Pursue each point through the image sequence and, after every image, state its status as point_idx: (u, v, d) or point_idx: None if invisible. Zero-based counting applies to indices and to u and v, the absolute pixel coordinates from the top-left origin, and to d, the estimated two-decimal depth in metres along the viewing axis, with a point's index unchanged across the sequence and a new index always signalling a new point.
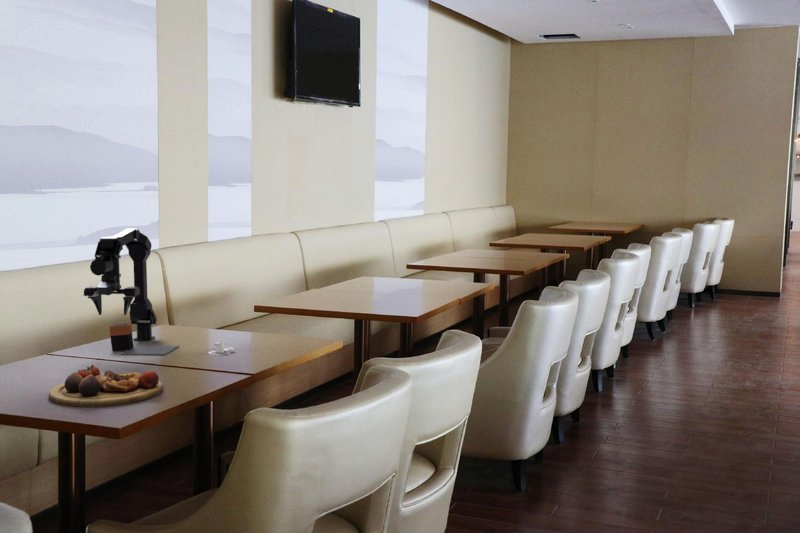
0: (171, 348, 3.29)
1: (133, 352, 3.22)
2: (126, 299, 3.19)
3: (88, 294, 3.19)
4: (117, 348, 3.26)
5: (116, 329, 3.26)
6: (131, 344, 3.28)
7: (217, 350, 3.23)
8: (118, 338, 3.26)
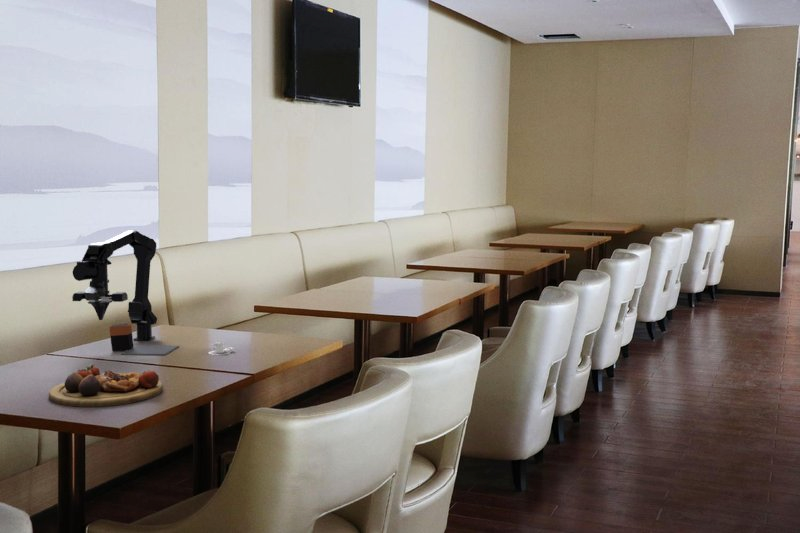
0: (171, 348, 3.29)
1: (133, 352, 3.22)
2: (102, 304, 3.25)
3: (77, 299, 3.25)
4: (117, 348, 3.26)
5: (116, 329, 3.26)
6: (131, 344, 3.28)
7: (217, 350, 3.23)
8: (118, 338, 3.26)
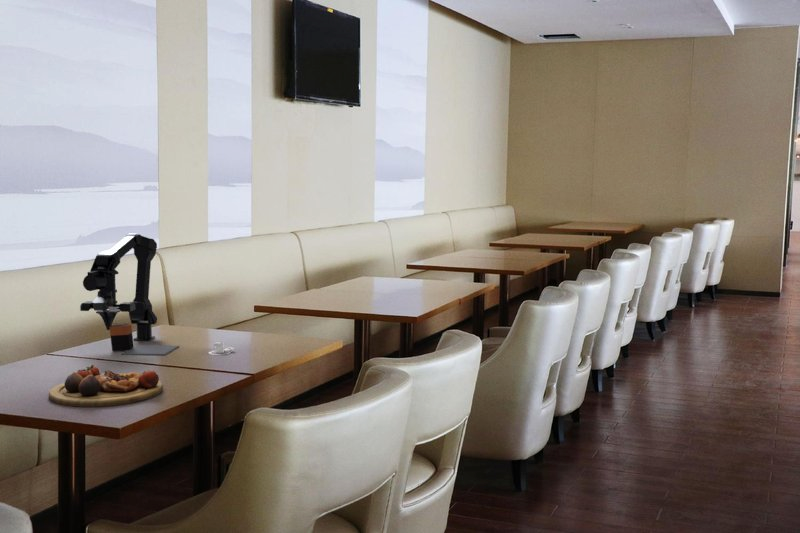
0: (171, 348, 3.29)
1: (133, 352, 3.22)
2: (110, 314, 3.25)
3: (84, 309, 3.25)
4: (117, 348, 3.26)
5: (116, 329, 3.26)
6: (131, 344, 3.28)
7: (217, 350, 3.23)
8: (119, 338, 3.26)
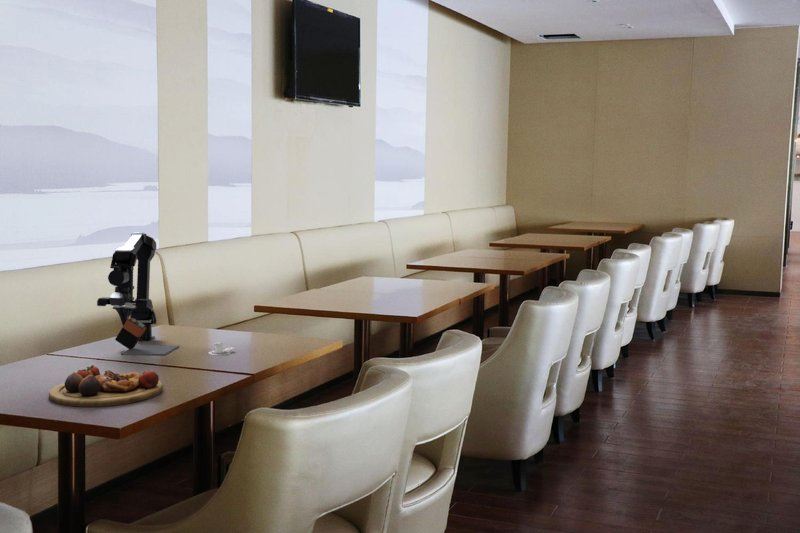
0: (171, 348, 3.29)
1: (133, 352, 3.22)
2: (126, 310, 3.24)
3: (101, 304, 3.24)
4: (120, 341, 3.26)
5: (131, 326, 3.25)
6: (134, 345, 3.28)
7: (217, 350, 3.23)
8: (127, 335, 3.25)
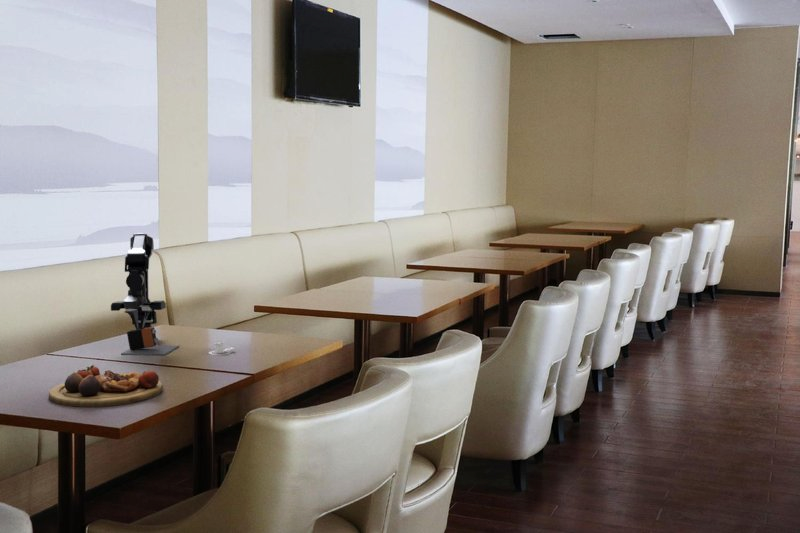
0: (171, 348, 3.29)
1: (133, 352, 3.22)
2: (143, 313, 3.24)
3: (115, 309, 3.24)
4: (129, 337, 3.25)
5: (148, 336, 3.25)
6: None
7: (217, 350, 3.23)
8: (139, 339, 3.25)
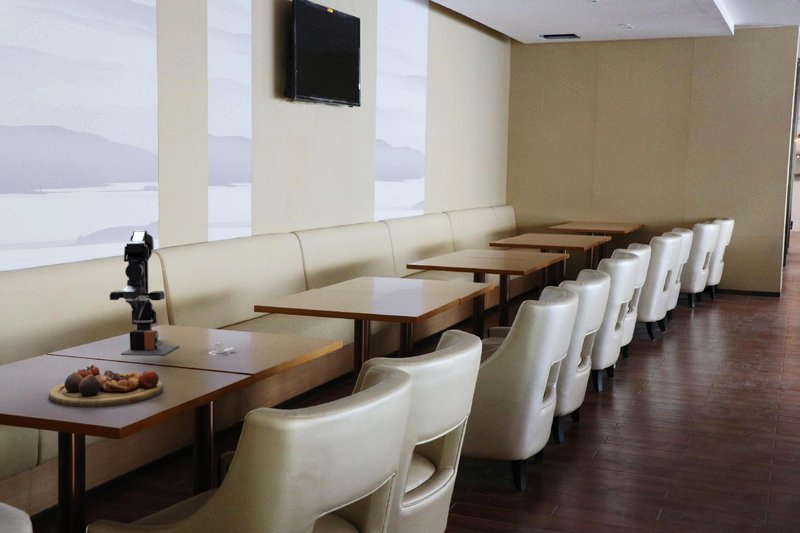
0: (171, 348, 3.29)
1: (133, 352, 3.22)
2: (139, 303, 3.24)
3: (114, 298, 3.23)
4: (131, 338, 3.25)
5: (150, 339, 3.25)
6: None
7: (217, 350, 3.23)
8: (141, 340, 3.25)
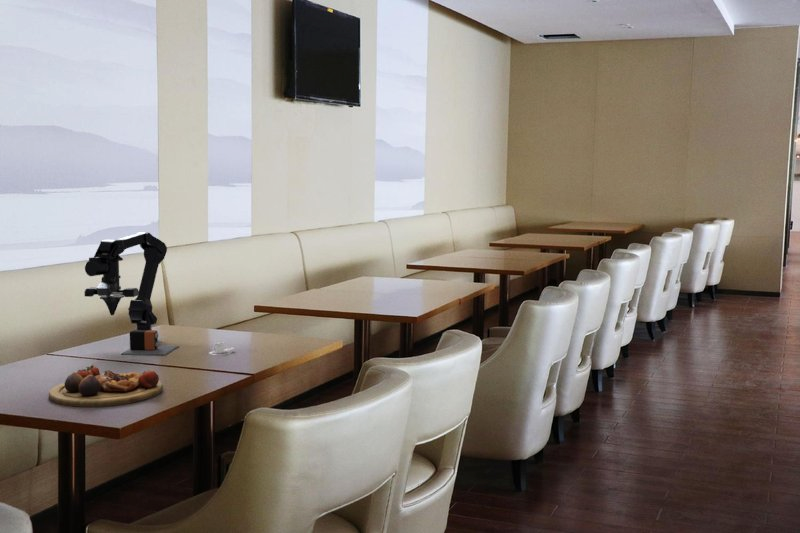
0: (171, 348, 3.29)
1: (133, 352, 3.22)
2: (113, 299, 3.31)
3: (89, 295, 3.30)
4: (131, 338, 3.25)
5: (150, 339, 3.25)
6: None
7: (218, 350, 3.23)
8: (141, 340, 3.25)
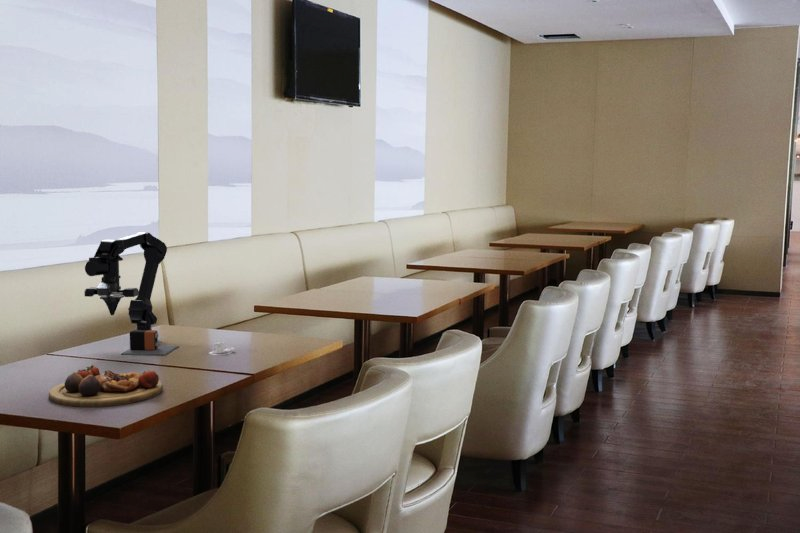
0: (171, 348, 3.29)
1: (133, 352, 3.22)
2: (113, 299, 3.31)
3: (89, 295, 3.30)
4: (131, 338, 3.25)
5: (150, 339, 3.25)
6: None
7: (218, 350, 3.23)
8: (141, 340, 3.25)
